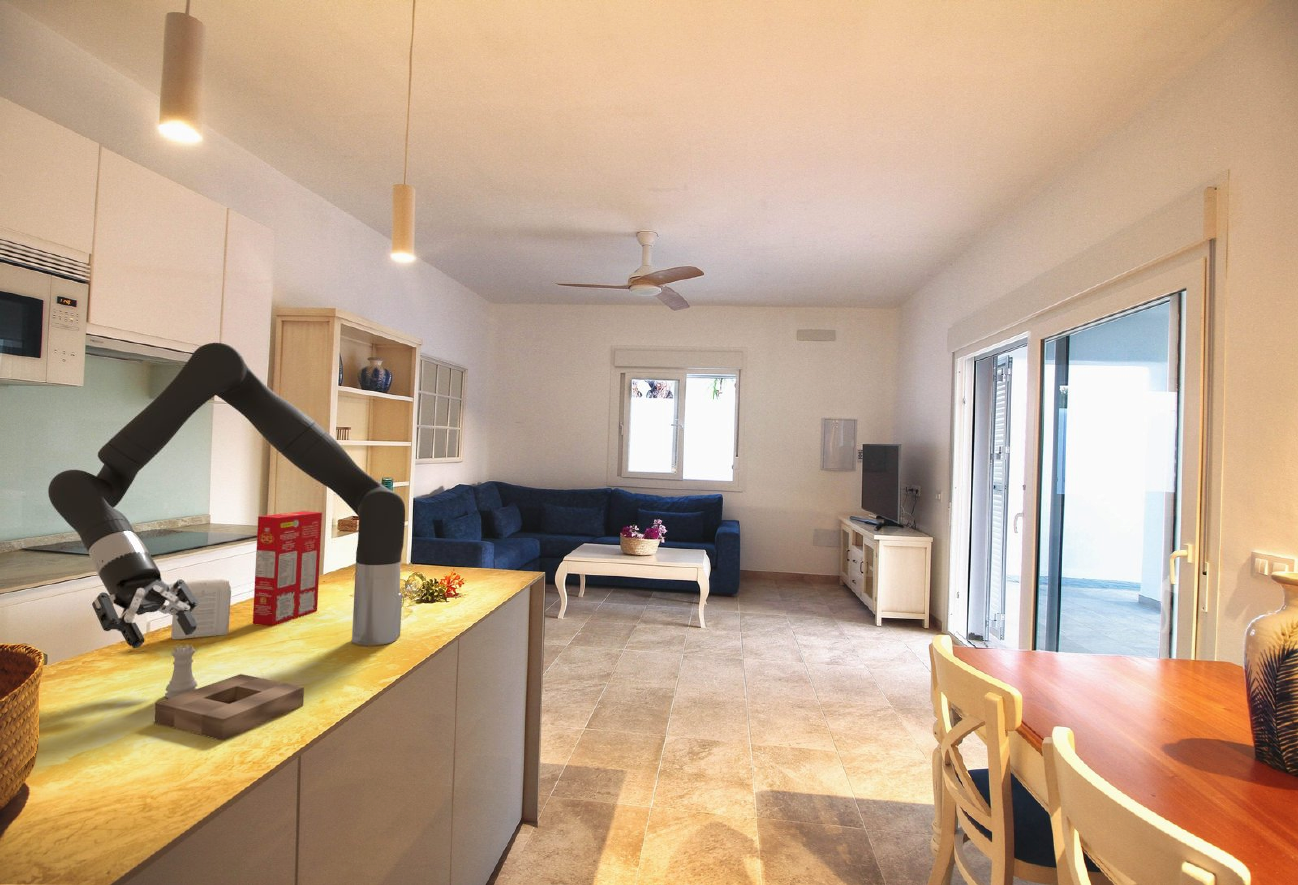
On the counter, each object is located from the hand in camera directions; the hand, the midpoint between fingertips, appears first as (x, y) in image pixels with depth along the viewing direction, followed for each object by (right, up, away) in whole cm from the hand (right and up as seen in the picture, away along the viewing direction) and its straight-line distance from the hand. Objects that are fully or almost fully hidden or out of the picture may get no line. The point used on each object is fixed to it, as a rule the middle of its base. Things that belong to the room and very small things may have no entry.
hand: (166, 638), depth 110 cm
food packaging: (-6, -10, +47) cm, 49 cm away
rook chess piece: (+3, -9, -2) cm, 10 cm away
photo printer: (-15, -9, +30) cm, 35 cm away
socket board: (+16, -10, -8) cm, 20 cm away
